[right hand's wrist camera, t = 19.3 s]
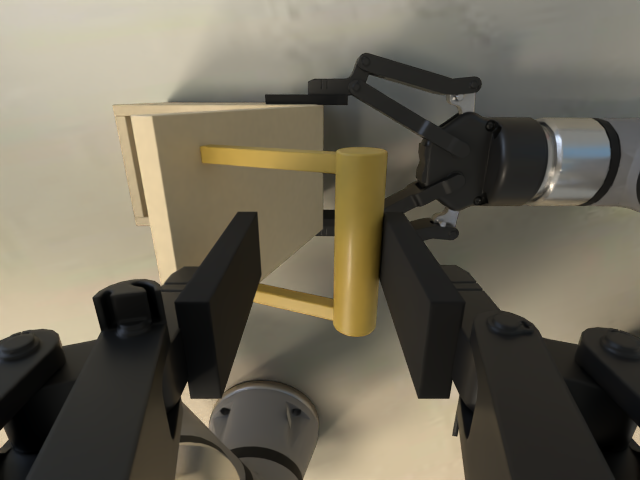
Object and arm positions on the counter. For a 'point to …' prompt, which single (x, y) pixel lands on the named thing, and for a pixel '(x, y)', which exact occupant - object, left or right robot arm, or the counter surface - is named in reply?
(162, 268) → the lid
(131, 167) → the chest
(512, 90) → the counter surface
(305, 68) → the counter surface
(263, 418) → the left robot arm
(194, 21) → the counter surface
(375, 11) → the counter surface
